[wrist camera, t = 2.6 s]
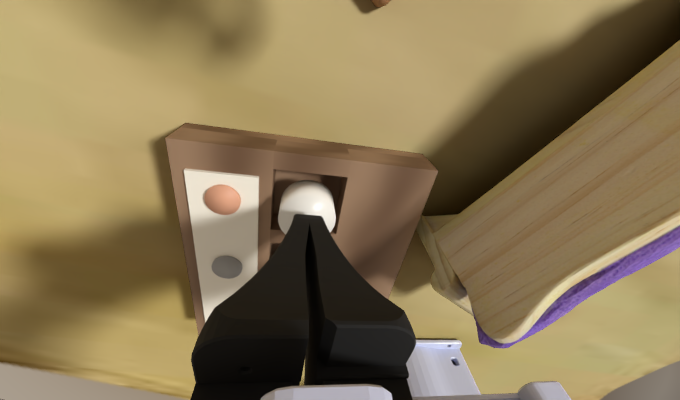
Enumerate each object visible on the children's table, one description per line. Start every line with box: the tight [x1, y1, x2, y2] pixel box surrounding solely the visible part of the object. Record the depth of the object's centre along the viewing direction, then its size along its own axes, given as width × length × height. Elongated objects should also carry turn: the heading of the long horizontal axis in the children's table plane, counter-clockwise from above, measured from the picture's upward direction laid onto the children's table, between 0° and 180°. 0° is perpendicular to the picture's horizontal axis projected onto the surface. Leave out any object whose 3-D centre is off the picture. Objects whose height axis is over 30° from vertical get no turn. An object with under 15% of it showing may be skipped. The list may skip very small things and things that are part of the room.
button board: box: [165, 123, 438, 335], centre depth 19 cm, size 14×16×2 cm
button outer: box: [278, 180, 336, 235], centre depth 15 cm, size 3×3×2 cm
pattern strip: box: [184, 169, 259, 322], centre depth 17 cm, size 4×13×1 cm, turn 170°
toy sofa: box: [416, 40, 680, 348], centre depth 14 cm, size 21×9×10 cm, turn 138°
